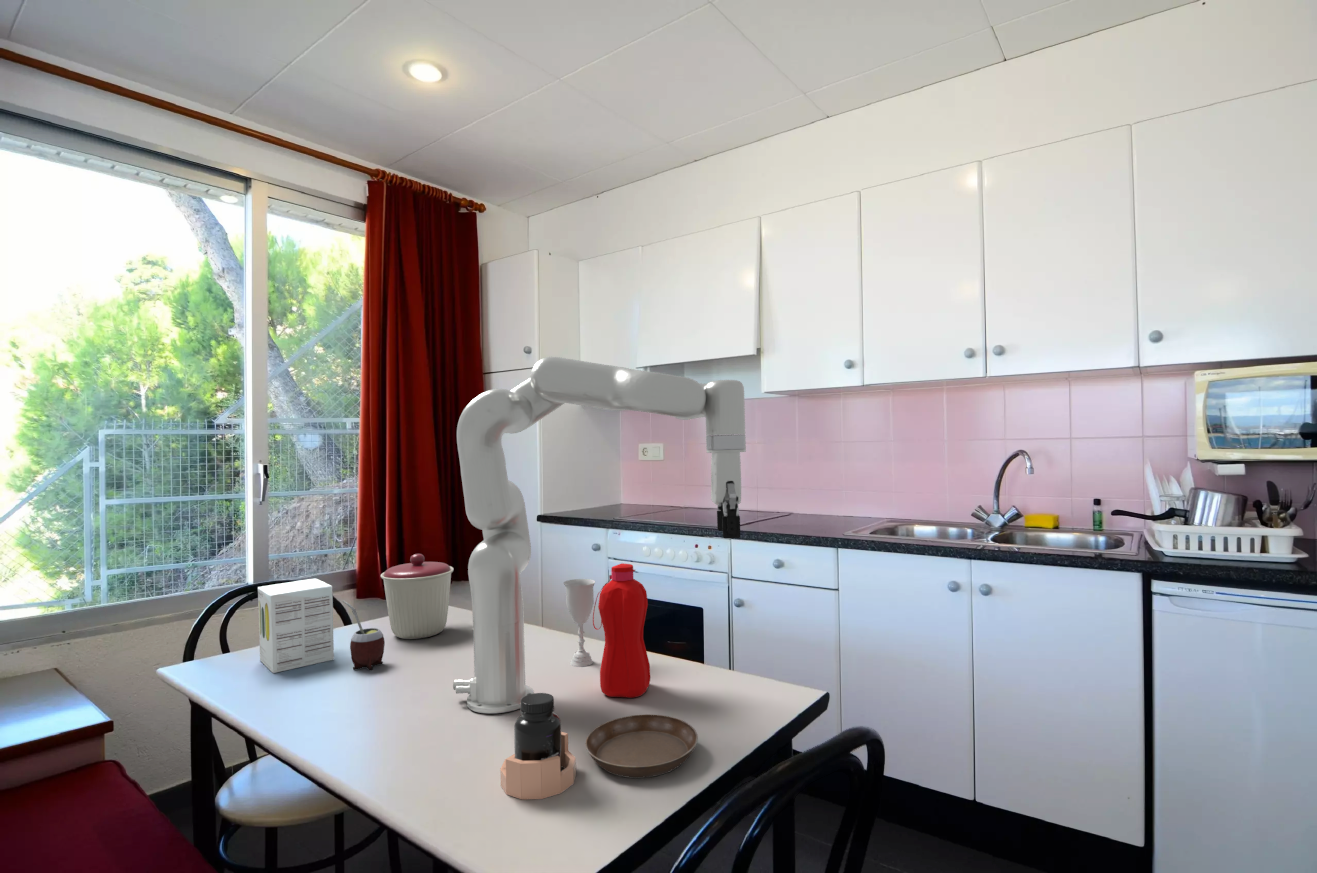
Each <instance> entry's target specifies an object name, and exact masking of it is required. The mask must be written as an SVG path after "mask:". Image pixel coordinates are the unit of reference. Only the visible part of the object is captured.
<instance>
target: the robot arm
mask: <svg viewBox="0 0 1317 873" xmlns="http://www.w3.org/2000/svg"><path fill="white" fill-rule="evenodd" d="M565 404H569V405H570V404H571V405H576V406H582V407H589V408H595V409H600V410H605V411H614V412H621V411H634V412H643V413H648V414H655V415H662V416H667V417H673V418H675V419H678V420H682V421H688V420H695V419H700V418H705V440H706V441H705V444H706V447H705V448H706V453H707V454H711V460H710V461H711V464H710V472H711V473H710V475H711V476H710V482H711V483H710V484H711V487H710V490H711V492H710V493H711V494H710V497H711V499H710V500H711V501H712V503H714V504H715V506H717V510H716V524H717V526H716V528H717V531H719V532H722V537H723V539H741V516H740V508H739V504H741V503H742V468H741V466H742V465H741V453H746V452H747V450H746V449H747V446H746V444H747V441H746V440H747V439H746V437H747V436H746V415H745V414H746V413H745V412H746V408H745V407H746V406H745V386H744V384H743V382H742V381H739V380H737V379H716V380H711V381H708V383H702V382H701V383H700V382H698V381H697V380H695V379H694V378H690V377H686V376H680V375H674V374H667V373H661V372H654V371H648V370H647V371H646V370H641V369H634V368H633V369H632V368H629V367H628V368H627V367H623V366H616V365H608V364H602V363H596V362H591V361H584V360H579V359H578V360H577V359H573V358H572V359H571V358H566V357H560V356H545V357H543V358H540V359H539V360H537V361H536V362H535V364H534V365H533V367H532V369H531V371H530V376H529V378H528V379H526V380H525V381H523V382H521V383H520V384H519V385H517V386H515V387H514V388H512V389H511V390H510V389H507V388H506V389H505V388H492V389H489V390H485V391H484V392H481V393H480V394H478V395H477V396H476V397H474V398H472V400H470V402H469V403H468V404H467V405H466V406H465V407H464V408H463V410H462V412H461V414H460V416H459V419H458V422H457V425H456V426H457V427H456V444H457V452H458V458H459V466H460V476H461V482H462V483H461V484H462V492H463V497H464V498H463V499H464V507H465V514H466V516H467V519H468V521H469V522H470V524H471V525H472V526H473V527H475V528H476V529H478V530H482V531H481V532H482V537H483V540H482V541H481V542H479V543H478V544H477V545H476V546H475V547H474V549H473V551H471V554H470V557H469V559H468V564H467V569H468V570H467V575H468V582H469V588H470V594H471V607H472V608H471V610H472V611H471V612H472V628H473V629H472V631H473V632H472V633H473V634H472V635H473V636H472V637H473V660H474V661H473V668H474V671H473V674H474V677H471V678H470V679H453V680H454V681H453V683H452V684H453V685H452V688H453V689H452V690H454V691H455V693H456V694H467V695H468V696H467V697H466V706H467V708H468V709H469V710H470V711H473V712H476V713H479V714H480V713H481V714H490V715H491V714H501V713H503V714H505V713H508V712H513V711H516V710H520V709H521V699H522V698H523V697H525V696H527V695H530V694H534V693H535V691H534V689H533V688H532V687H530V685H527V683H526V654H525V653H526V652H525V650H526V649H525V647H526V646H525V619H524V618H525V617H524V598H523V590H522V584H521V583H522V582H521V573H523V571H525V569H526V568H527V567H528V565H529V563H530V560H531V558H532V546H531V543H532V542H531V537H530V536H531V535H530V530H529V522H528V516H527V510H526V502H525V499H524V496H523V493H522V491H521V489H520V488H519V487H518V485H516V483H514V482H512V481H511V480H509V479H508V478H509V477H508V471H507V463H506V457H505V452H504V449H503V445H502V439H503V436H504V435H505V434H509V435H510V434H518V433H520V432H523V431H525V430H527V429H528V428H530V427H531V426H533V425H534V424H535V425H536V423H538V422H540V421H541V420H542V419H544V418H545V417H547V416H548V415H550V414H551V413H553V412H555V411H556V410H558V408H561V407H562V406H563V405H565ZM714 504H713V505H714Z"/></svg>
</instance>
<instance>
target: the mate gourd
mask: <svg viewBox="0 0 1317 873" xmlns="http://www.w3.org/2000/svg"><path fill="white" fill-rule="evenodd" d="M342 603H344V604H345V605H346V606H347V607H348V608H350V610H351V611H352V614H353V615H354V618H355V620H356V623H357V626H358V627H359V630H357V631H355V632H354V633H353V635H352V637H351V638H350V643H349V646H350V647H349V648H350V649H349V650H350V658H351V661H352V663H353V667H352V669H353V671H356V670H361V669H367V670H368V671H369V672H370V671H373V670H374V669H373V667H375V666H377V667H378V666H381V665H383V664H384V661H383V657H384V652H385V638H384V634H383V633H382V631H381V630H380V629H379V628H376V627H371V628H363V627H362V623H361V621H360V618H359V616H358V612H357V610H356V608H355V607H354V606H353V605H351V604H350V603H349V602H347V601H345V600H344V599H343V600H342Z"/></svg>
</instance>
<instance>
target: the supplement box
mask: <svg viewBox="0 0 1317 873" xmlns="http://www.w3.org/2000/svg"><path fill="white" fill-rule="evenodd" d="M333 598H334V597H333V585H331V584H329V583H327V582H325V581H322V580H320V579H318V578H317V577H316V578H309V579H303V580H301V579H300V580H296V581H289V582H282V583H275V584H269V585H262V586H257V602H258V603H257V604H258V606H257V607H258V629H259V630H258V633H259V661H260V662H261V663H262V664H263V665H264V666H265V667H266V668H267V669H268V670H270V672H271V673H272V674H276V673H280V672H285V671H288V670H294V669H297V668H301V667H302V668H303V667H307V666H311V665H312V666H313V665H316V664H320V663H325V662H329V661H333V660H335V651H334V650H335V648H334V647H335V644H334V642H335V641H334V603H333V602H334V599H333Z"/></svg>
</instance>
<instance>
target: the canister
mask: <svg viewBox="0 0 1317 873" xmlns="http://www.w3.org/2000/svg"><path fill="white" fill-rule="evenodd" d="M409 561H410V562H409V563H403V564H398V565H395V566H394V565H393V566H391V567H389V568H387V569H386V570H385V571H384V572H382V573H381V574H380V578H381V579H382V580H383V585H384V593H385V599H386V607H387V613H388V614H387V615H388V620H389V625H390V630H391V632H392V633H393V634H394V636H395V637H397V638H399V639H403V640H404V639H405V640H417V639H418V640H419V639H424V638H425V639H426V638H429V637H433V636H436V635H438V634H440V633H442V632H443V631H444V629H445V627H446V625H447V621H448V615H449V614H448V613H449V603H450V592H451V591H450V590H451V583H452V582H451V581H452V580H451V578H452V573H453V572H454V567H453V566H451V565H449V564H447V563H445V562H440V561H439V562H438V561H425V556H424V554H422V553H415V554H413V555H411V556H410V559H409Z"/></svg>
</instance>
